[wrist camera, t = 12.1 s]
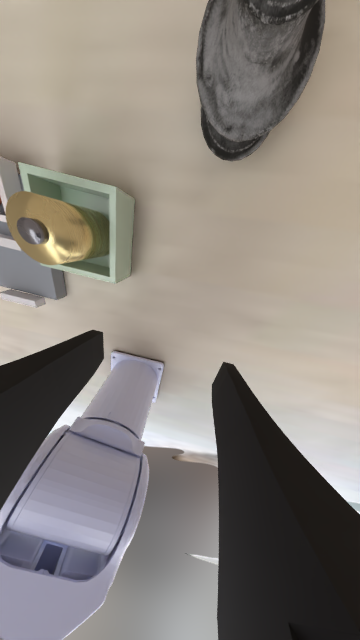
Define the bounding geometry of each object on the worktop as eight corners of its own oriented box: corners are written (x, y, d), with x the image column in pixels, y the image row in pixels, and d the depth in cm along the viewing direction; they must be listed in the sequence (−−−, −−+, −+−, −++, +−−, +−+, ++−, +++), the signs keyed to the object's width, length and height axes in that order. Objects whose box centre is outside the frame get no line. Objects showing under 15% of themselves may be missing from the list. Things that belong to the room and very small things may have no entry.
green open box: (130, 275, 17) (115, 283, 14) (69, 260, 17) (40, 265, 14) (134, 198, 14) (116, 186, 11) (58, 179, 14) (17, 161, 10)
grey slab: (67, 302, 19) (47, 311, 17) (14, 289, 19) (-14, 296, 17) (47, 173, 13) (12, 158, 11) (-30, 154, 13) (-84, 133, 11)
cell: (114, 261, 16) (65, 274, 10) (76, 250, 16) (5, 256, 10) (116, 217, 14) (57, 201, 8) (74, 203, 14) (-17, 177, 8)
